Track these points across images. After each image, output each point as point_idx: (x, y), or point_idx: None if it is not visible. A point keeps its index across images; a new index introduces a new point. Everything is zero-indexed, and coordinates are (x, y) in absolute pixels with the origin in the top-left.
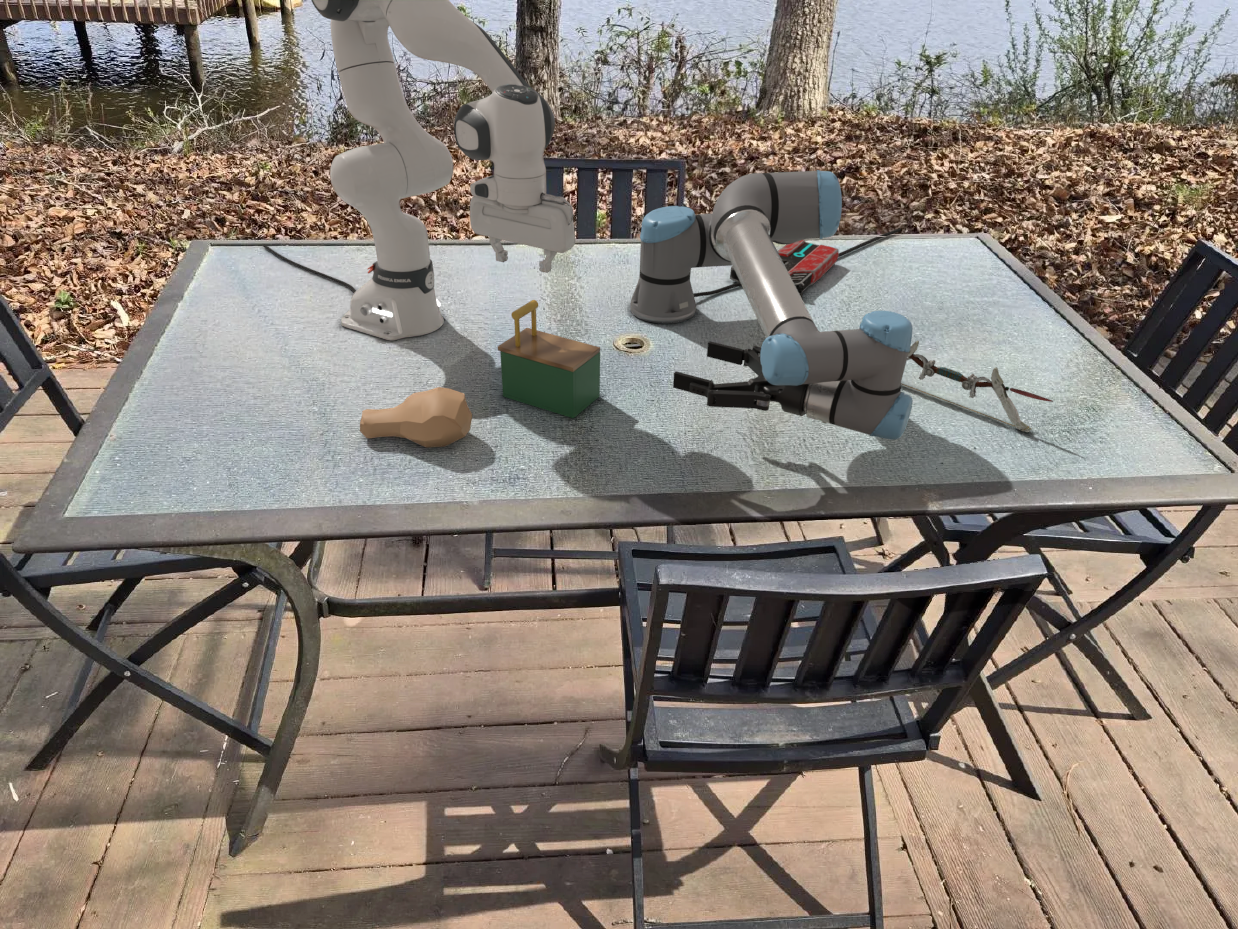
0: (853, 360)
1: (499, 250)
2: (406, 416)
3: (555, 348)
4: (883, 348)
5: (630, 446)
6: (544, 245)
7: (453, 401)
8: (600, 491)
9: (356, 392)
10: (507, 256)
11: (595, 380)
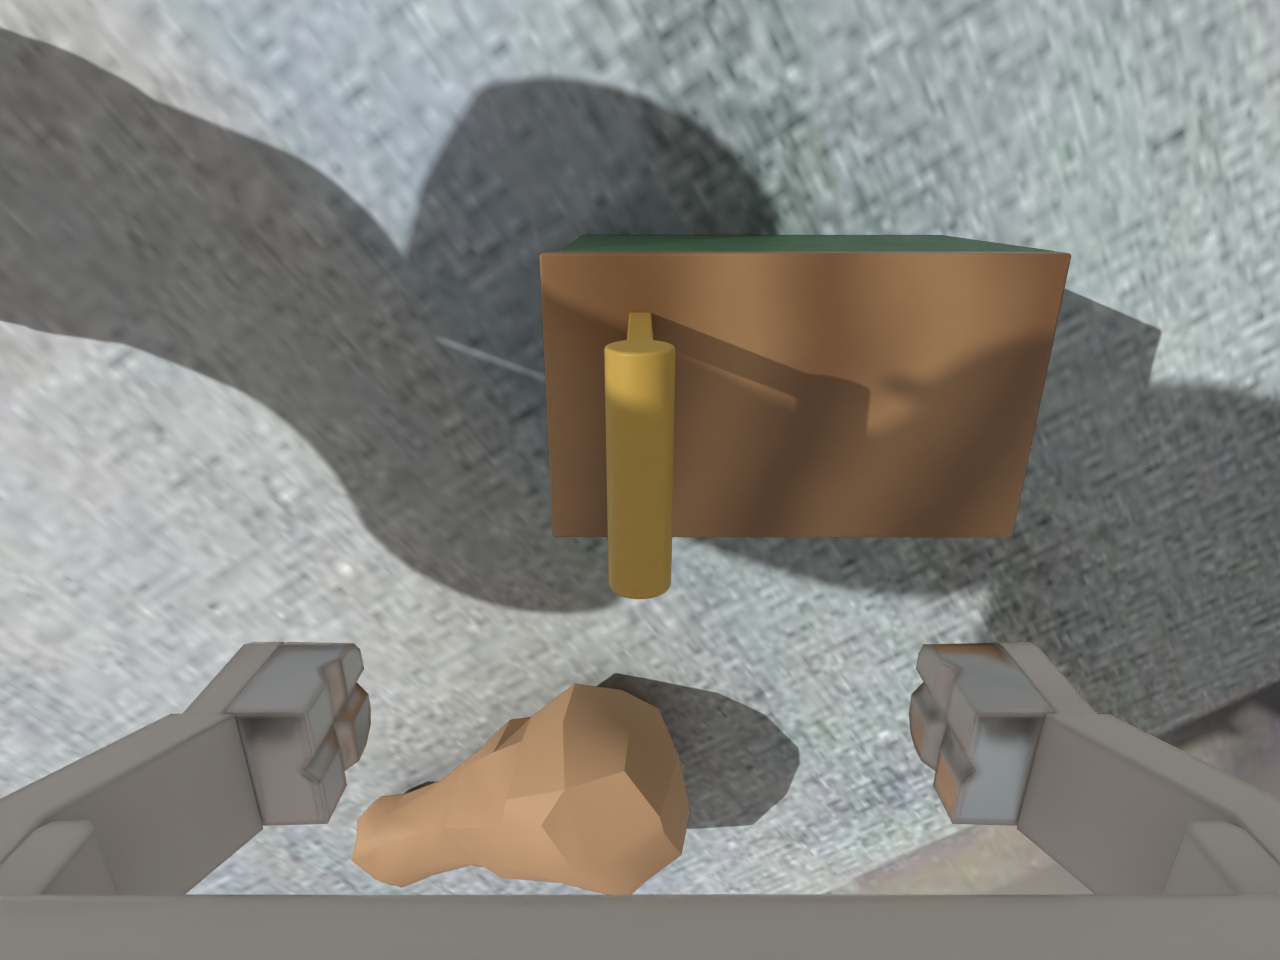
0: None
1: (239, 808)
2: (522, 879)
3: (835, 405)
4: None
5: (1170, 496)
6: None
7: (644, 850)
8: (1142, 727)
9: (153, 667)
10: (339, 667)
11: None
